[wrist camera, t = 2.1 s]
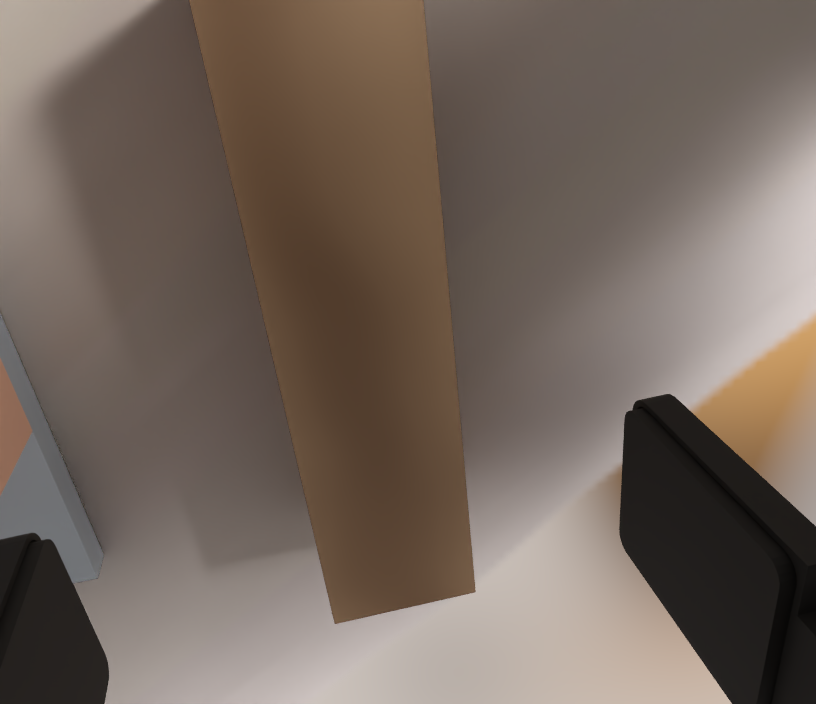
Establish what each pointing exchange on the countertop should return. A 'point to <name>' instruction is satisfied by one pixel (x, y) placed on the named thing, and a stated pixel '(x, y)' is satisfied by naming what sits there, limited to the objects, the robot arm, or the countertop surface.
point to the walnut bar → (350, 280)
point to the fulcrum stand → (38, 474)
